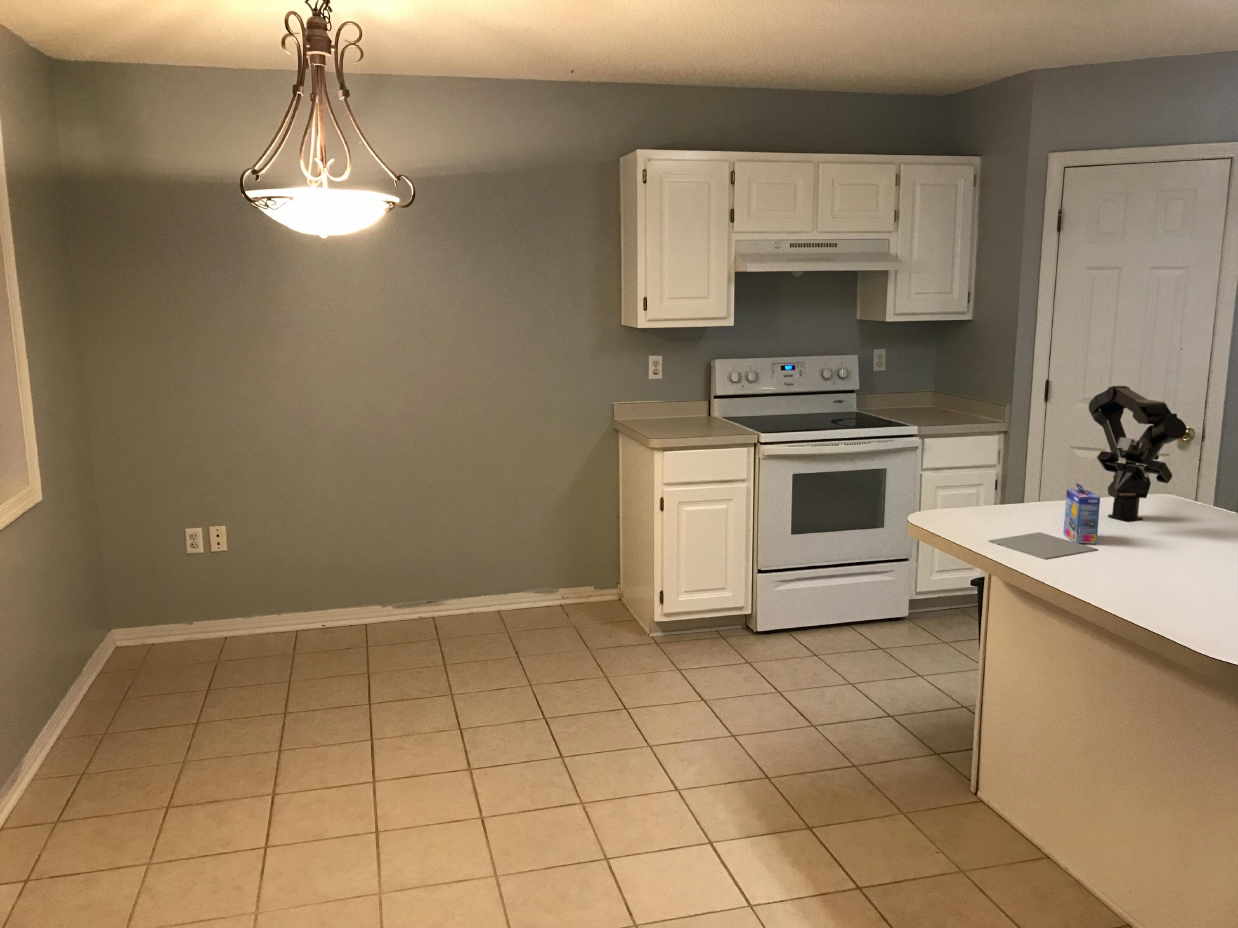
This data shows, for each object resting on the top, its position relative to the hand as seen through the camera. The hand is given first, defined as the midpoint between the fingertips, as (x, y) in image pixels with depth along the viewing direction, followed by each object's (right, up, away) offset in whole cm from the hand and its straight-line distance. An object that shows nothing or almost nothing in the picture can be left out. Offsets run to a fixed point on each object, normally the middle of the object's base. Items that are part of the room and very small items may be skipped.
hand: (1116, 491), depth 257 cm
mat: (-23, -14, -8) cm, 28 cm away
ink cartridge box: (-11, -12, -3) cm, 17 cm away
